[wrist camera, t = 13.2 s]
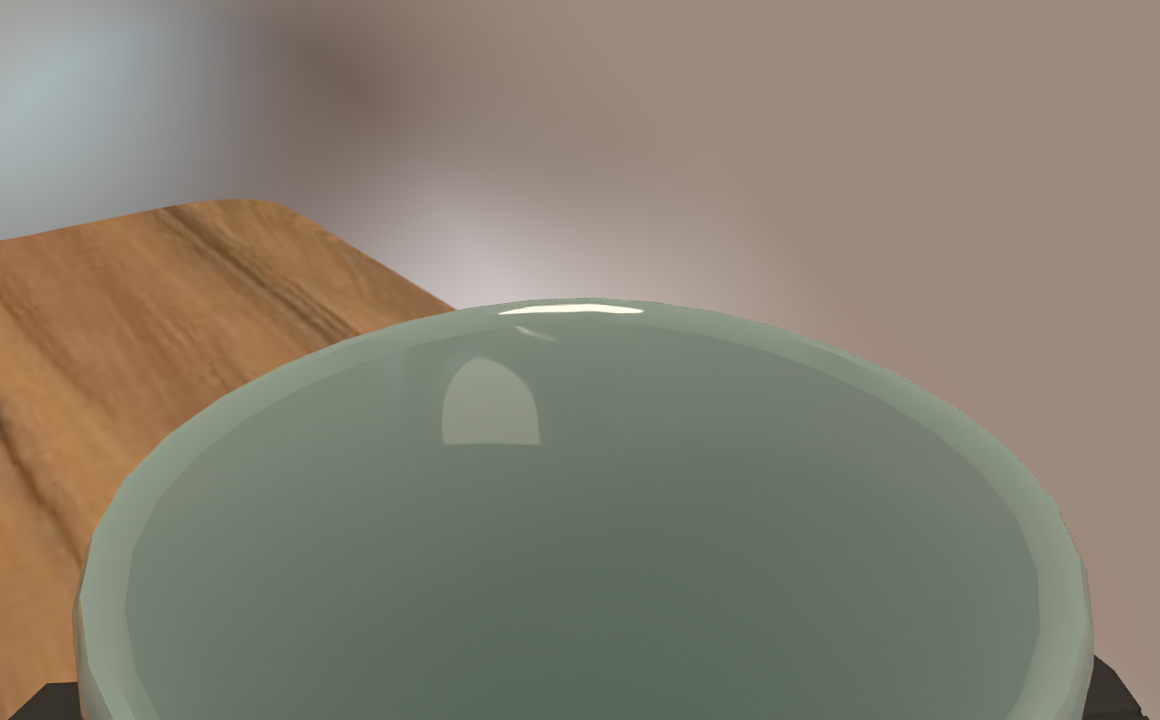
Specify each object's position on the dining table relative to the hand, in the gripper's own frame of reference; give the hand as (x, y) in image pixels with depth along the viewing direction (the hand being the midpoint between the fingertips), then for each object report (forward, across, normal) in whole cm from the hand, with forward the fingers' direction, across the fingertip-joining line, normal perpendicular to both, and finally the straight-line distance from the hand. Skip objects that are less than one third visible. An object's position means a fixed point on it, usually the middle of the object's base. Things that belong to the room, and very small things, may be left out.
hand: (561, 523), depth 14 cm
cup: (-5, 0, -6) cm, 8 cm away
